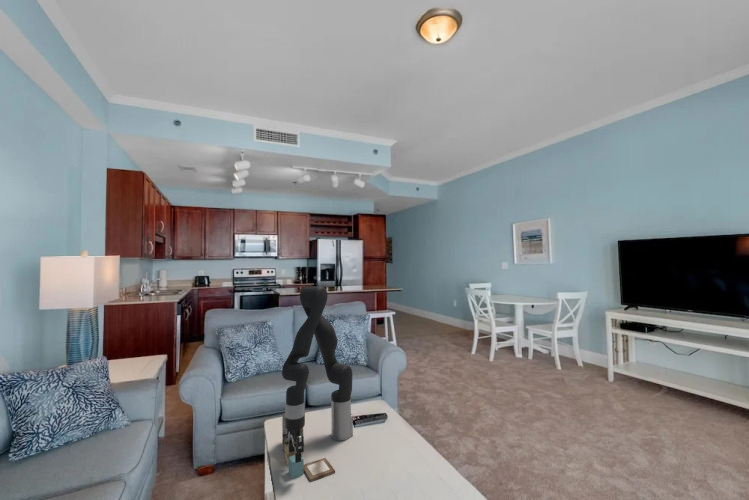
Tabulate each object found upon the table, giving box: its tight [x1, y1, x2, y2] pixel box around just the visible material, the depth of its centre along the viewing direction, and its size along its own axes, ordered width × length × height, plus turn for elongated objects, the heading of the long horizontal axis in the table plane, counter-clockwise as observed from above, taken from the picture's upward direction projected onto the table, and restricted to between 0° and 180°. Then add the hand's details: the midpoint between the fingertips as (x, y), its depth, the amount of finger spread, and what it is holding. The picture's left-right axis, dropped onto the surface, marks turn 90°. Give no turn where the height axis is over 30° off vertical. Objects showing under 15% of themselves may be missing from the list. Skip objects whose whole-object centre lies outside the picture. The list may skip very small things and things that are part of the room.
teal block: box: [288, 455, 305, 479], centre depth 130 cm, size 4×4×6 cm
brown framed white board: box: [304, 457, 336, 483], centre depth 132 cm, size 10×10×1 cm
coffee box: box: [281, 411, 304, 452], centre depth 150 cm, size 9×6×16 cm
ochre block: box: [284, 444, 297, 466], centre depth 139 cm, size 4×4×6 cm
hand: (294, 456), depth 130 cm, fingers open, 8 cm apart
